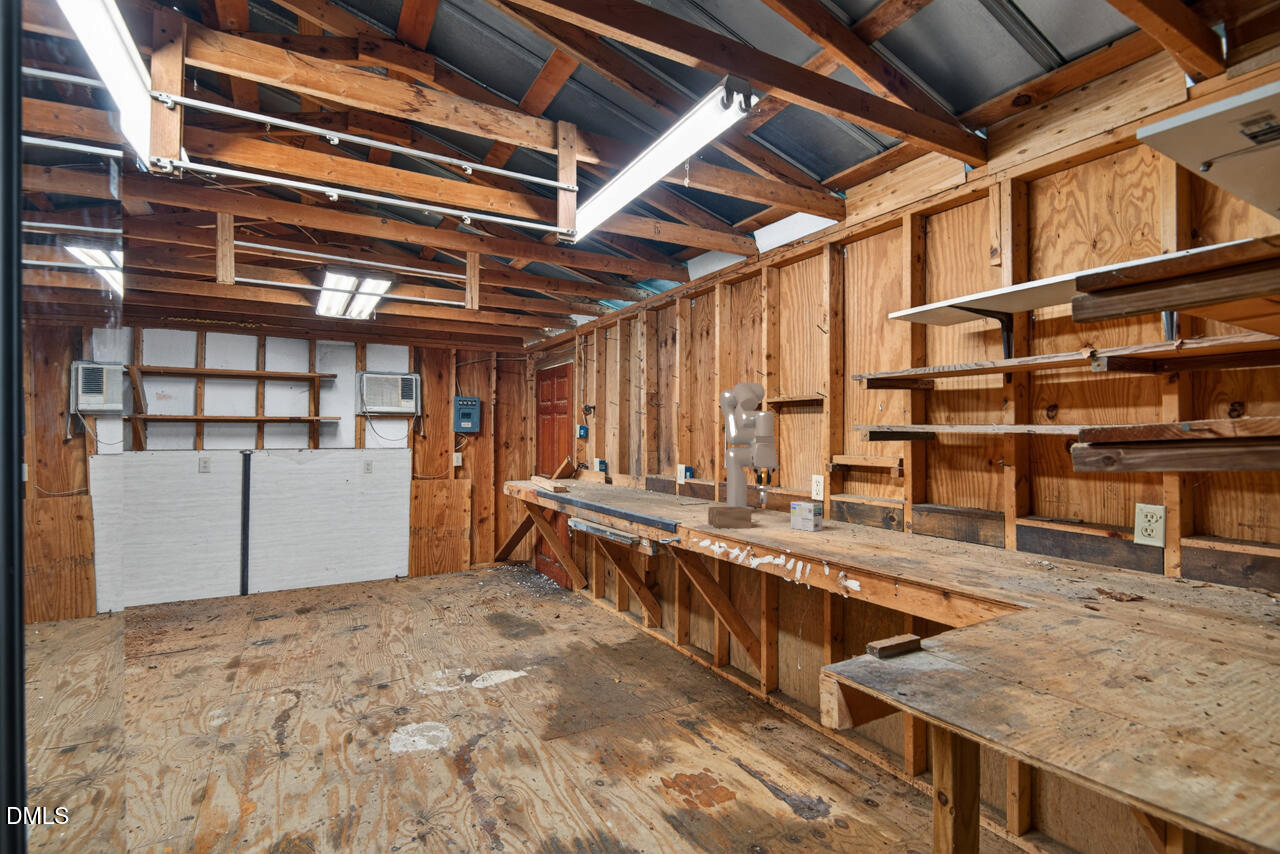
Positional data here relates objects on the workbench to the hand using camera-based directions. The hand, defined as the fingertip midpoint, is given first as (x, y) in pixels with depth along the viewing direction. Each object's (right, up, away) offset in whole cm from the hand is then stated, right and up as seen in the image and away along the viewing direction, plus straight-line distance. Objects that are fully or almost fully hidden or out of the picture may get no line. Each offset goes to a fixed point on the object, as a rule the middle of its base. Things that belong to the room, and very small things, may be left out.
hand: (763, 483), depth 250 cm
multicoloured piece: (0, -8, 0) cm, 8 cm away
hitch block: (-15, -17, -6) cm, 24 cm away
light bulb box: (+14, -17, -14) cm, 26 cm away
